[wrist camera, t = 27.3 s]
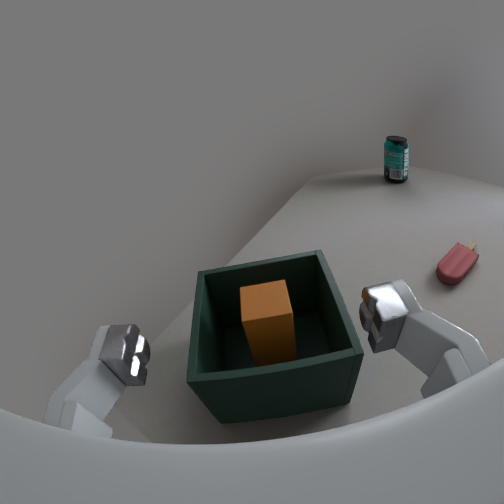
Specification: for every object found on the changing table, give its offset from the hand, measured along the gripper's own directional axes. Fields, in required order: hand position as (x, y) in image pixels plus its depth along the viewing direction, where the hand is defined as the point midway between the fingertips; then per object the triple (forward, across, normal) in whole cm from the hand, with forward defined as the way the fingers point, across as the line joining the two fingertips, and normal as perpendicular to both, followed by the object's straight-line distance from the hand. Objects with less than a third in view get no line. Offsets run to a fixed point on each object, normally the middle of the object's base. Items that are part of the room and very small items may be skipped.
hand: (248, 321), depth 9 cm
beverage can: (+59, -42, +23) cm, 76 cm away
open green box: (+12, 0, +23) cm, 26 cm away
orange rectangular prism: (+12, 0, +22) cm, 25 cm away
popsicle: (+22, -36, +23) cm, 48 cm away
